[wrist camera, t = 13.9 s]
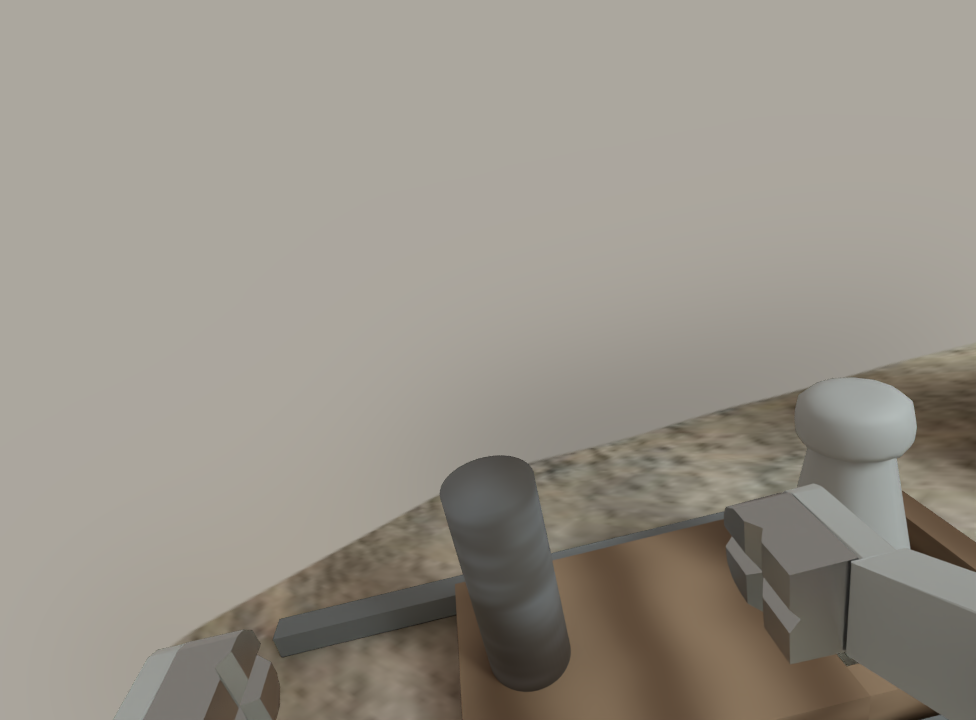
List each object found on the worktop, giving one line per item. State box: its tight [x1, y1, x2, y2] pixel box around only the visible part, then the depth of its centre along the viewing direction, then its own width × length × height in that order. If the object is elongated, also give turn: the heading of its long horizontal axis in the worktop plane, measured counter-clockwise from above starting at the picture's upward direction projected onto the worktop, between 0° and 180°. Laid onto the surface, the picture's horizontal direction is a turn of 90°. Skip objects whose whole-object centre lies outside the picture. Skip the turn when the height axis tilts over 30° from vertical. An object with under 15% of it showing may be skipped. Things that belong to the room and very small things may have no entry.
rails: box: [273, 512, 949, 720], centre depth 26 cm, size 34×15×2 cm, turn 96°
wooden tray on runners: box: [440, 456, 976, 720], centre depth 24 cm, size 26×11×12 cm, turn 96°
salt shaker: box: [795, 377, 917, 550], centre depth 24 cm, size 6×6×13 cm
